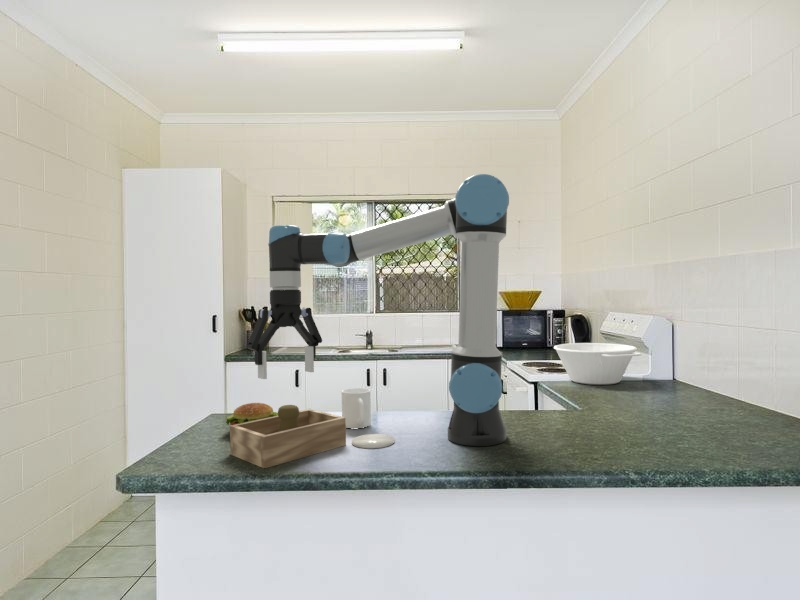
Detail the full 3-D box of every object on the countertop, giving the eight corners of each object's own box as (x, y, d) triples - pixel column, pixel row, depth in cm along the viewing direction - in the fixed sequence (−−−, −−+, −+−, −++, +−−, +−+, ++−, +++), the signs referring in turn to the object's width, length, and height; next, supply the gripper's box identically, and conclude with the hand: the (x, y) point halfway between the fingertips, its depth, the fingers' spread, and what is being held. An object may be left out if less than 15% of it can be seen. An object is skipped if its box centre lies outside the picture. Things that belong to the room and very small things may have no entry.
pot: (534, 376, 232) (533, 344, 232) (597, 372, 241) (597, 340, 241) (591, 393, 194) (591, 354, 194) (664, 387, 203) (663, 349, 202)
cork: (278, 446, 135) (277, 403, 135) (303, 445, 135) (301, 402, 135) (275, 454, 129) (274, 408, 129) (300, 452, 129) (299, 407, 129)
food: (249, 423, 160) (249, 397, 159) (287, 428, 153) (287, 400, 153) (215, 435, 147) (214, 406, 147) (255, 440, 141) (254, 410, 141)
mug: (377, 431, 147) (376, 394, 147) (347, 434, 145) (346, 396, 145) (367, 421, 159) (366, 387, 159) (340, 424, 157) (339, 389, 156)
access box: (346, 445, 135) (345, 417, 135) (264, 468, 118) (263, 437, 118) (309, 434, 146) (309, 408, 146) (230, 454, 129) (229, 425, 129)
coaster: (403, 441, 137) (403, 439, 137) (371, 451, 129) (371, 448, 129) (374, 433, 145) (374, 431, 145) (342, 442, 137) (342, 440, 137)
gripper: (317, 288, 143) (318, 367, 143) (230, 289, 125) (232, 379, 125) (334, 288, 138) (336, 370, 138) (247, 289, 120) (248, 383, 120)
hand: (286, 375), depth 132 cm, fingers open, 13 cm apart
